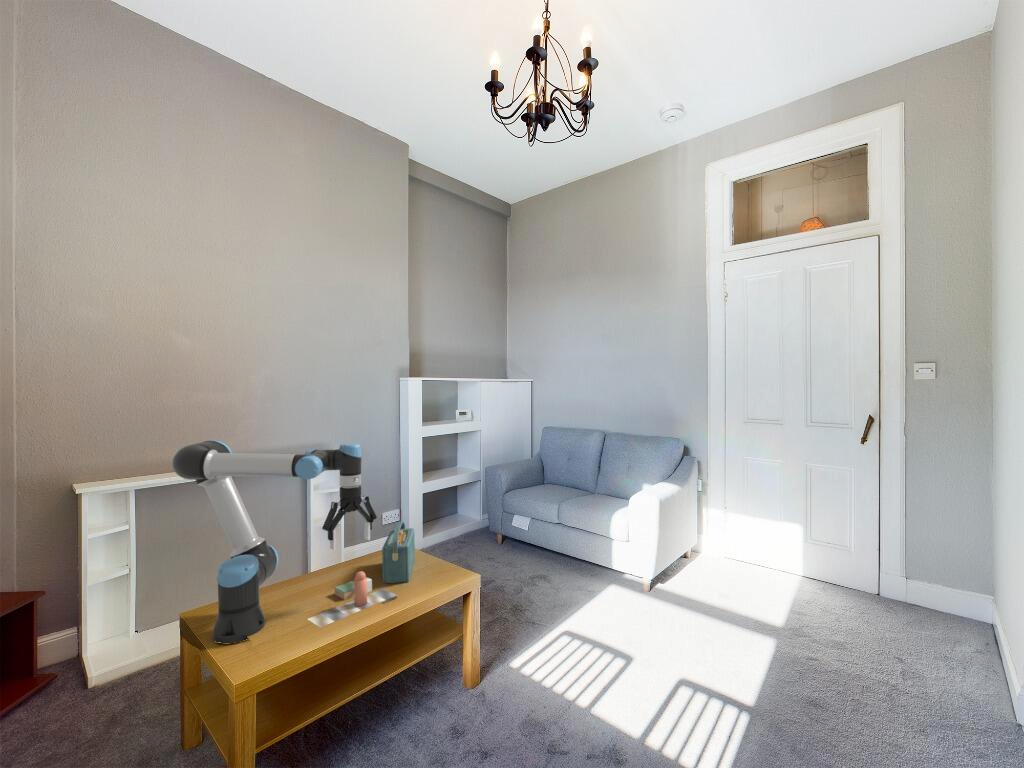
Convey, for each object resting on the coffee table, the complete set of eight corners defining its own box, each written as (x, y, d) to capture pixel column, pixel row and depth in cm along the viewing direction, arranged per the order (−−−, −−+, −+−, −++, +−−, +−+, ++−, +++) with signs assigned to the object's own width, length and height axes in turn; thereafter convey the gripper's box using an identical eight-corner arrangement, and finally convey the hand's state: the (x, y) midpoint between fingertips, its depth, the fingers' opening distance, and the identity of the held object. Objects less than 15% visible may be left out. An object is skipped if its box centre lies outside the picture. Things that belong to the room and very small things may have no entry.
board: (320, 631, 153) (320, 627, 153) (307, 622, 159) (307, 619, 159) (396, 598, 176) (396, 594, 176) (383, 591, 181) (383, 588, 181)
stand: (344, 603, 172) (344, 592, 172) (335, 597, 177) (334, 587, 177) (361, 596, 178) (361, 585, 178) (351, 591, 182) (351, 581, 182)
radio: (391, 561, 213) (390, 517, 213) (415, 559, 214) (414, 516, 214) (381, 585, 188) (380, 535, 188) (409, 583, 189) (407, 533, 189)
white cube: (361, 583, 179) (371, 579, 183) (355, 580, 182) (365, 576, 185) (361, 595, 179) (372, 591, 183) (355, 592, 182) (365, 588, 185)
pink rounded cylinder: (358, 607, 166) (358, 575, 166) (352, 604, 169) (351, 572, 169) (369, 603, 169) (369, 571, 169) (363, 599, 172) (362, 568, 172)
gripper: (322, 493, 159) (322, 555, 159) (385, 482, 178) (385, 537, 178) (312, 490, 164) (312, 550, 164) (375, 479, 183) (375, 533, 183)
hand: (350, 544), depth 171 cm, fingers open, 13 cm apart
